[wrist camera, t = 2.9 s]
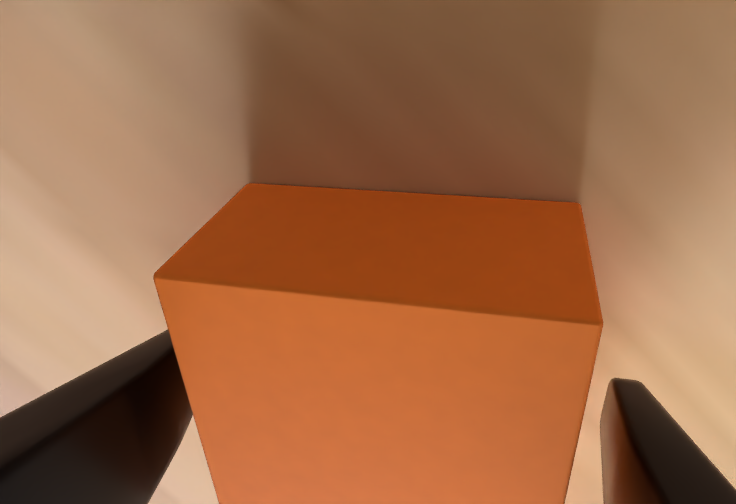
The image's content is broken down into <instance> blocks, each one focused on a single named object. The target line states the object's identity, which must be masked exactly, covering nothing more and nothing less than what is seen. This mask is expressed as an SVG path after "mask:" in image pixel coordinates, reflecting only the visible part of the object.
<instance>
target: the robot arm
mask: <svg viewBox="0 0 736 504" xmlns="http://www.w3.org/2000/svg"><path fill="white" fill-rule="evenodd" d="M192 415H193V412H192V409H191V405H190V402H189V398H188V395H187V392H186V388H185V385H184V381H183V378H182V374H181V371H180V368H179V364H178V361H177V357H176V354H175V351H174V347H173V344H172V340H171V337H170V333H169V330H166V331H164V332H163V333H161V334H159V335H157V336H155V337H153V338H151V339H149V340H147V341H145V342H144V343H142V344H140V345H138V346H136V347H134V348H132V349H130V350H128V351H126V352H124V353H123V354H121V355H119V356H117V357H115V358H113V359H111V360H109V361H107V362H105V363H104V364H102V365H100V366H98V367H96V368H94V369H92V370H90V371H88V372H86V373H84V374H83V375H81V376H79V377H77V378H75V379H73V380H71V381H69V382H67V383H65V384H63V385H62V386H60V387H58V388H56V389H54V390H52V391H50V392H48V393H46V394H44V395H42V396H41V397H39V398H37V399H35V400H33V401H31V402H29V403H27V404H25V405H23V406H22V407H20V408H18V409H16V410H14V411H12V412H10V413H8V414H6V415H4V416H2V417H1V418H0V504H148V502H149V500H150V499H151V497H152V495H153V493H154V491H155V490H156V488H157V486H158V484H159V482H160V480H161V479H162V477H163V475H164V473H165V471H166V470H167V468H168V466H169V464H170V462H171V460H172V459H173V457H174V455H175V453H176V451H177V449H178V447H179V445H180V443H181V441H182V439H183V436H184V434H185V432H186V430H187V427H188V425H189V422H190V420H191V418H192ZM600 437H601V458H602V478H603V498H604V504H736V489H735V488H734V487H733V486H732V485H731V484H730V483H729V481H728V480H727V479H726V478H725V477H724V476H723V475H722V473H721V472H720V471H719V470H718V469H717V468H716V467H715V466H714V464H713V463H712V462H711V461H710V460H709V459H708V458H707V456H706V455H705V454H704V453H703V452H702V451H701V450H700V448H699V447H698V446H697V445H696V444H695V443H694V442H693V441H692V439H691V438H690V437H689V436H688V435H687V434H686V433H685V431H684V430H683V429H682V428H681V427H680V426H679V425H678V423H677V422H676V421H675V420H674V419H673V418H672V417H671V415H670V414H669V413H668V412H667V411H666V410H665V409H664V408H663V406H662V405H661V404H660V403H659V402H658V401H657V400H656V398H655V397H654V396H653V395H652V394H651V393H650V392H649V390H648V389H647V388H646V387H645V386H644V385H643V384H642V383H641V382H639V381H636V380H629V379H621V378H613V379H611V381H610V382H609V385H608V389H607V393H606V397H605V401H604V405H603V409H602V414H601V420H600Z"/></svg>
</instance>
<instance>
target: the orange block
mask: <svg viewBox="0 0 736 504" xmlns="http://www.w3.org/2000/svg"><path fill="white" fill-rule="evenodd" d="M153 279H154V282H155V285H156V289H157V292H158V296H159V299H160V303H161V306H162V309H163V313H164V316H165V320H166V323H167V327H168V330H169V333H170V337H171V340H172V344H173V347H174V351H175V354H176V357H177V361H178V364H179V368H180V371H181V374H182V378H183V381H184V385H185V388H186V392H187V395H188V398H189V402H190V405H191V409H192V412H193V416H194V419H195V422H196V426H197V429H198V433H199V436H200V440H201V443H202V446H203V450H204V453H205V457H206V460H207V464H208V467H209V470H210V474H211V477H212V481H213V484H214V487H215V491H216V494H217V498H218V501H219V504H564V503H565V498H566V494H567V489H568V484H569V480H570V475H571V470H572V466H573V461H574V457H575V452H576V447H577V443H578V438H579V434H580V429H581V424H582V420H583V415H584V410H585V406H586V401H587V397H588V392H589V387H590V383H591V378H592V373H593V369H594V364H595V360H596V355H597V350H598V346H599V341H600V336H601V332H602V327H603V319H602V314H601V309H600V303H599V298H598V293H597V287H596V282H595V277H594V272H593V266H592V261H591V256H590V250H589V245H588V240H587V235H586V229H585V224H584V219H583V213H582V208H581V205H580V204H579V203H573V202H557V201H540V200H523V199H506V198H489V197H473V196H456V195H439V194H422V193H406V192H389V191H372V190H355V189H338V188H322V187H305V186H288V185H271V184H254V183H249V184H246V185H245V186H244V187H243V188H242V189H241V190H240V191H239V192H238V193H237V194H236V195H235V196H234V197H233V198H232V199H231V200H230V201H229V202H228V203H227V204H226V205H225V206H224V207H223V208H222V209H221V210H219V211H218V212H217V213H216V214H215V215H214V216H213V217H212V218H211V219H210V220H209V221H208V222H207V223H206V224H205V225H204V226H203V227H202V228H201V229H200V230H199V231H198V232H197V233H196V234H195V235H194V236H193V237H192V238H190V239H189V240H188V241H187V242H186V243H185V244H184V245H183V246H182V247H181V248H180V249H179V250H178V251H177V252H176V253H175V254H174V255H173V256H172V257H171V258H170V259H169V260H168V261H167V262H166V263H165V264H164V265H163V266H161V267H160V268H159V269H158V270H157V271H156V272H155V274H154V278H153Z"/></svg>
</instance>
